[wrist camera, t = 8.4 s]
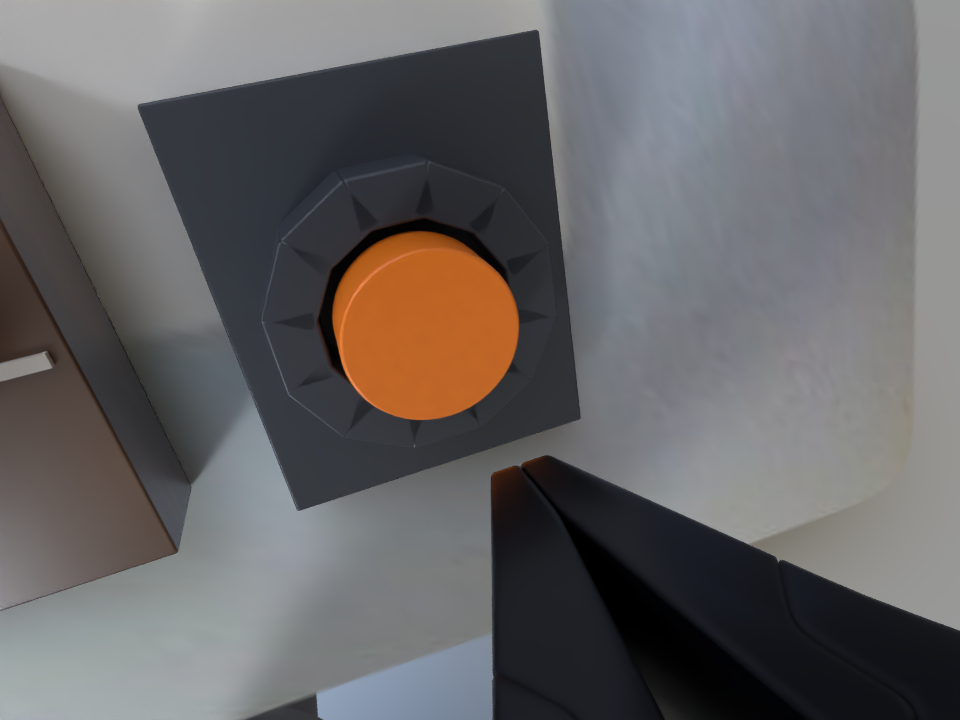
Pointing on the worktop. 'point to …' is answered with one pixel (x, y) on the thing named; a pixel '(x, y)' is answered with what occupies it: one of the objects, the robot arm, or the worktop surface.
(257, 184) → the housing
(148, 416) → the panel
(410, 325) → the button
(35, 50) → the worktop surface
